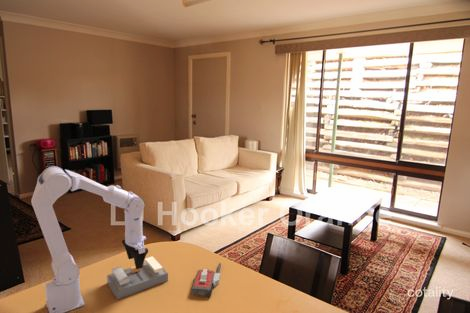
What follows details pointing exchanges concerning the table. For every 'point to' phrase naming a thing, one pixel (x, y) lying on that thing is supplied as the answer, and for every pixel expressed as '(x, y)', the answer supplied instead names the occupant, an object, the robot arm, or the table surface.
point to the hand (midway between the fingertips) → (135, 263)
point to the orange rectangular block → (134, 269)
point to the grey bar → (120, 275)
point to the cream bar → (153, 264)
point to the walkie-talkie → (205, 282)
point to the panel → (136, 281)
